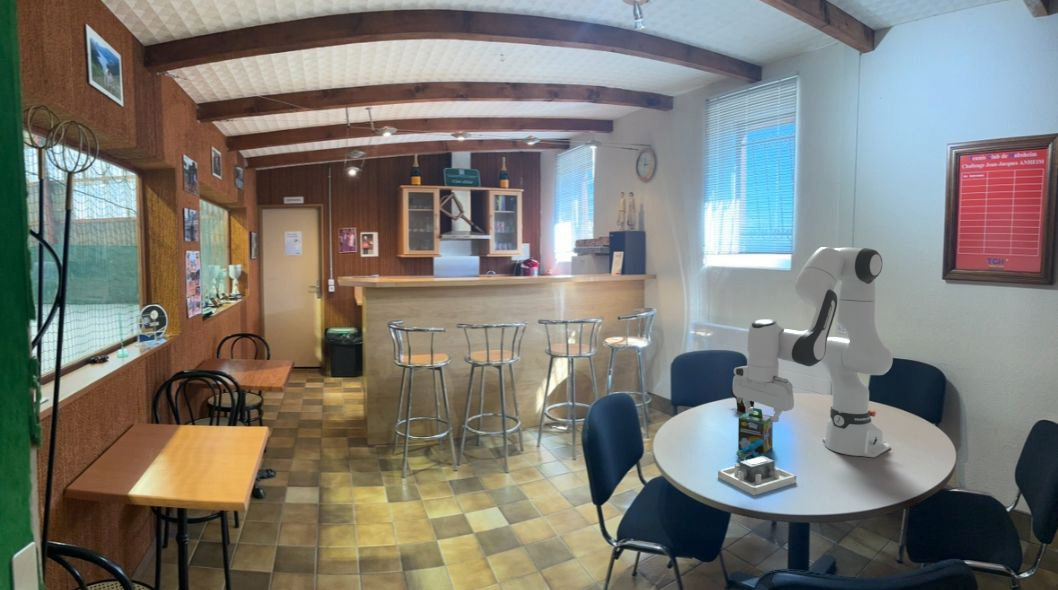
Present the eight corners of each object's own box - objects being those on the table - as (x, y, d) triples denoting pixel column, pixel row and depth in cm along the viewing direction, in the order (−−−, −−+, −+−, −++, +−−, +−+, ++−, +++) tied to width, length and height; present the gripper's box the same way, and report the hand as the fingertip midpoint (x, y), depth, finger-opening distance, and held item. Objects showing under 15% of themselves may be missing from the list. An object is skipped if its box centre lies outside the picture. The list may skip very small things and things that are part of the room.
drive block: (762, 471, 178) (762, 455, 178) (774, 476, 174) (774, 460, 174) (739, 477, 174) (739, 461, 173) (751, 482, 170) (751, 466, 169)
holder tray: (758, 466, 184) (759, 454, 184) (796, 482, 172) (796, 470, 172) (717, 477, 176) (718, 465, 176) (754, 495, 164) (754, 482, 164)
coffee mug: (759, 413, 239) (759, 390, 238) (738, 413, 239) (739, 390, 238) (748, 405, 251) (749, 383, 250) (729, 405, 251) (729, 383, 250)
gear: (751, 447, 197) (766, 434, 189) (761, 462, 194) (777, 450, 186) (727, 457, 192) (742, 444, 185) (738, 473, 189) (753, 460, 182)
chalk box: (772, 447, 201) (774, 407, 199) (763, 455, 194) (765, 413, 193) (746, 441, 207) (748, 402, 205) (737, 448, 200) (738, 407, 199)
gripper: (799, 379, 164) (798, 425, 166) (743, 365, 182) (743, 406, 184) (784, 382, 161) (783, 429, 163) (729, 367, 179) (728, 410, 181)
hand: (761, 417), depth 173 cm, fingers open, 8 cm apart
